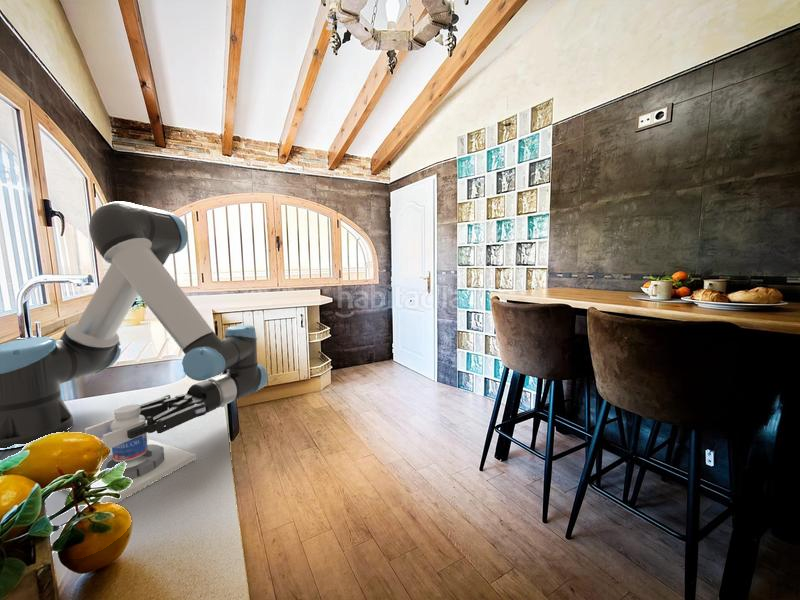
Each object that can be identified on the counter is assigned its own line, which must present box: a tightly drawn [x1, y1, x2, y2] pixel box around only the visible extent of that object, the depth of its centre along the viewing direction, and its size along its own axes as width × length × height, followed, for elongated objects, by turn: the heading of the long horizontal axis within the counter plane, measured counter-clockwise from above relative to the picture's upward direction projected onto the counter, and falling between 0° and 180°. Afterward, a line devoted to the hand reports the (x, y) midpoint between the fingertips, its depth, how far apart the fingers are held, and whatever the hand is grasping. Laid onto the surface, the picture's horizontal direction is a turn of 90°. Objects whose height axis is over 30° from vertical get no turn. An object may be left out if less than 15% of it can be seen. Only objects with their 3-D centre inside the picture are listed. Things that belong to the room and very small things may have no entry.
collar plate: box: [65, 439, 197, 504], centre depth 66 cm, size 16×16×3 cm
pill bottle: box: [110, 404, 148, 462], centre depth 65 cm, size 6×5×10 cm
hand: (95, 439), depth 60 cm, fingers closed on pill bottle, 5 cm apart
